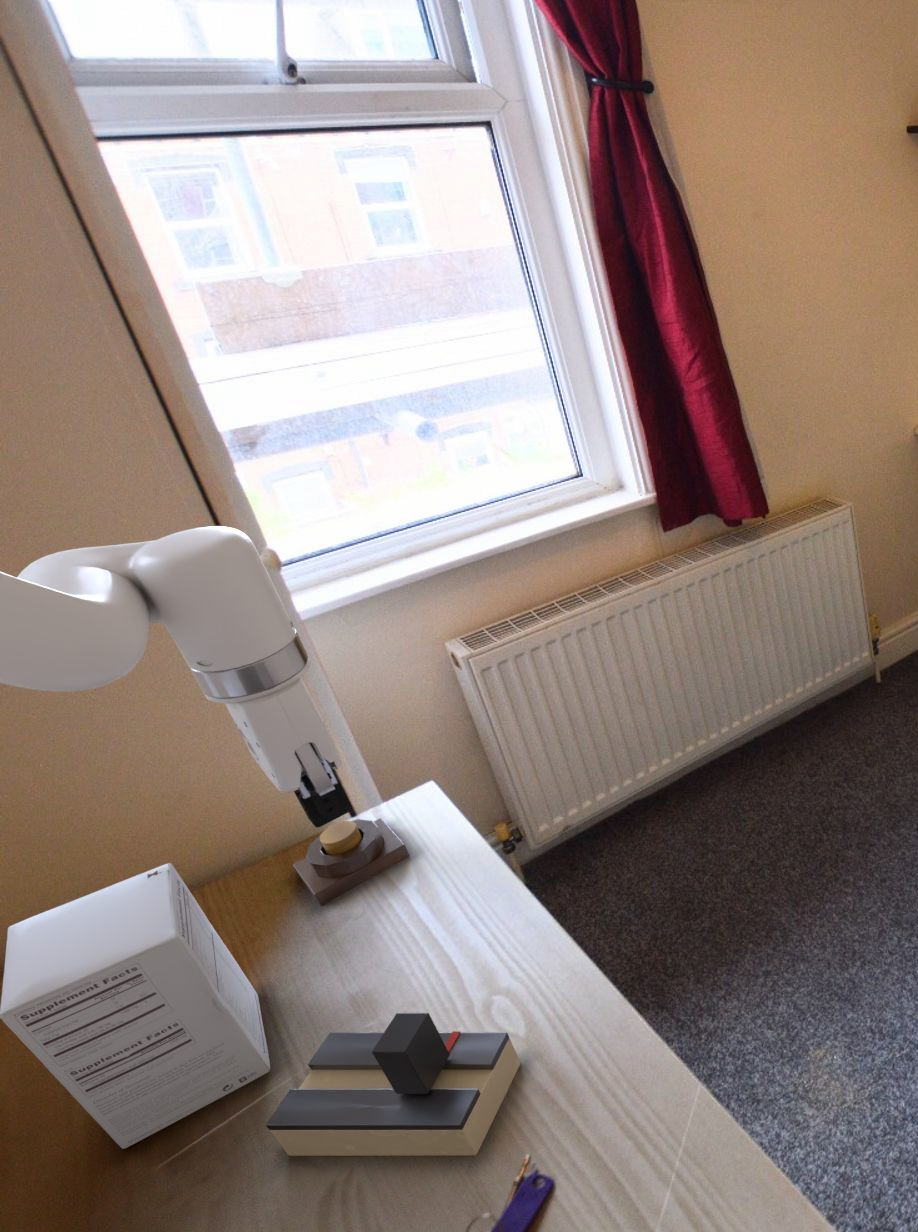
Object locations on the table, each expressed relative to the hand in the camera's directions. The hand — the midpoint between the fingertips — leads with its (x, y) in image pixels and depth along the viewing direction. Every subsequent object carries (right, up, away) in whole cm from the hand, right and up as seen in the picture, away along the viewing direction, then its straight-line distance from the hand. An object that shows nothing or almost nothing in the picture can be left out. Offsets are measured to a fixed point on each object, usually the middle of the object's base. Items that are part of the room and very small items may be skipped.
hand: (331, 815), depth 84 cm
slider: (+22, -15, -19) cm, 33 cm away
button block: (0, -6, +3) cm, 7 cm away
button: (0, -3, +2) cm, 4 cm away
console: (+20, -18, -17) cm, 32 cm away
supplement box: (0, -16, -15) cm, 22 cm away
